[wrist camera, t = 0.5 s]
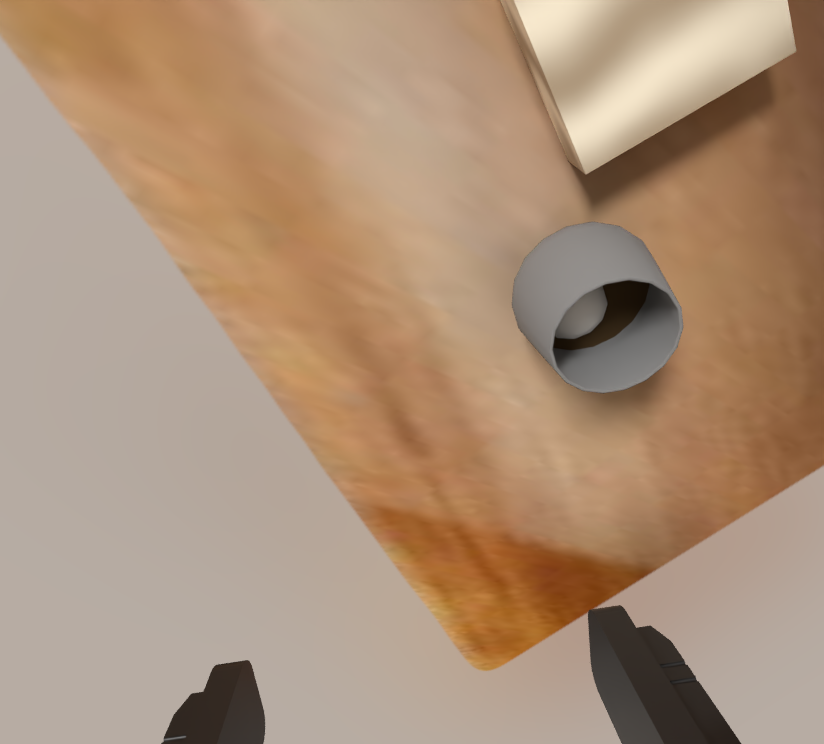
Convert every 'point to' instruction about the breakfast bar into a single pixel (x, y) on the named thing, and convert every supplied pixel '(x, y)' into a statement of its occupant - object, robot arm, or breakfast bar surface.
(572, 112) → the birch block
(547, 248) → the cup
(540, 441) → the breakfast bar surface
